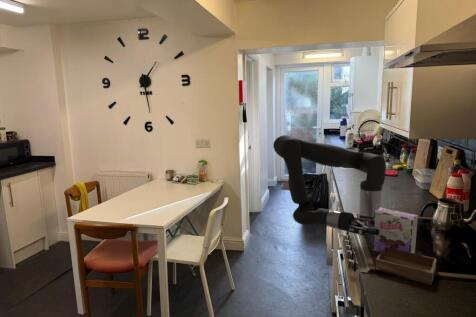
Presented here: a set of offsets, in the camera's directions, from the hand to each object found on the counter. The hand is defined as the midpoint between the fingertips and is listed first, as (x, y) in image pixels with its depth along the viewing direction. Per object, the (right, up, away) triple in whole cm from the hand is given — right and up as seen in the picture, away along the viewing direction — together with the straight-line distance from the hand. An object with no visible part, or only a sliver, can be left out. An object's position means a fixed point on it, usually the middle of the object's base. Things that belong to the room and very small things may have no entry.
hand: (382, 228), depth 124 cm
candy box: (+4, -9, -1) cm, 10 cm away
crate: (+3, -11, -12) cm, 17 cm away
